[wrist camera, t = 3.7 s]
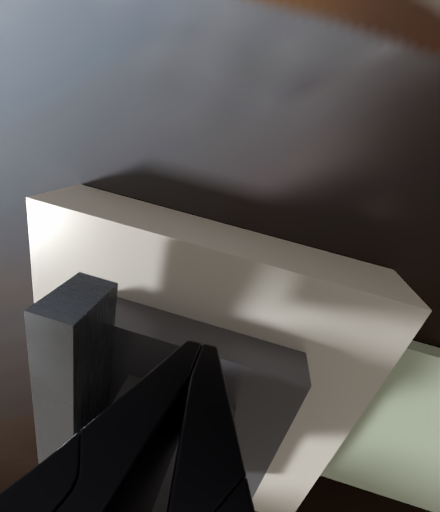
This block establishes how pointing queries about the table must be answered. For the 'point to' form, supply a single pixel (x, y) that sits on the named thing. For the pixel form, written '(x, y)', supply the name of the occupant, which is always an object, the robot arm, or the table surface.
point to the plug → (235, 373)
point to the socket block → (242, 305)
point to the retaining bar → (70, 357)
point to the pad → (398, 435)
